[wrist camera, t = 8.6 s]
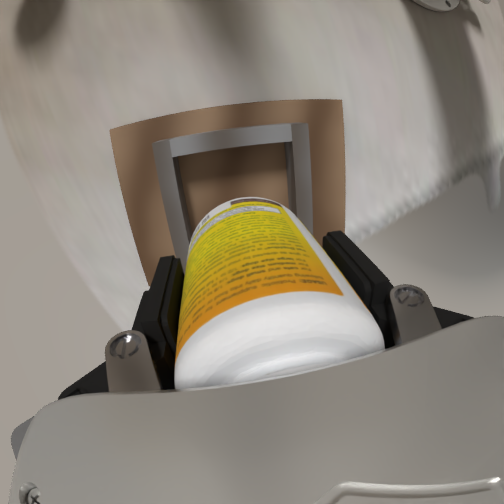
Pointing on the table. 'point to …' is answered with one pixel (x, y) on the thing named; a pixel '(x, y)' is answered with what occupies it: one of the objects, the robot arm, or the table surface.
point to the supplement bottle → (264, 300)
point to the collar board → (229, 169)
